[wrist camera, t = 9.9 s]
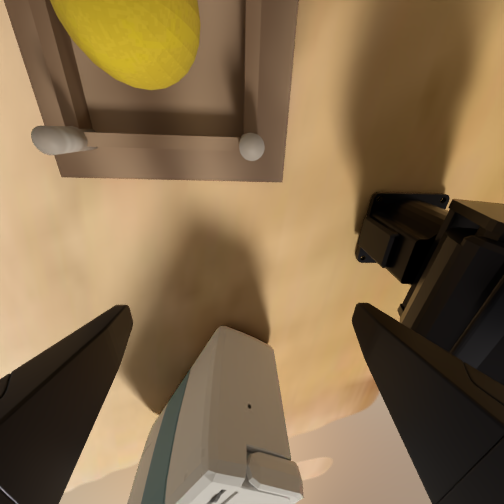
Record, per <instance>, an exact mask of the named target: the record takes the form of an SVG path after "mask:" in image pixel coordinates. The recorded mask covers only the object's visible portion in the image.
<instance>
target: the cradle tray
mask: <svg viewBox="0 0 504 504" xmlns="http://www.w3.org/2000/svg"><path fill="white" fill-rule="evenodd" d="M197 1H198V8H199V16H200V25H201V26H200V41H199V47H198V51H197V54H196V58H195V61H194V63H193V64H192V66H191V68H190V70H189V71H188V73H187V74H186V75H185V76H184V77H183V78H182V79H181V80H180V81H179V82H177V83H175V84H173V85H171V86H169V87H167V88H164V89H157V90H146V89H140V88H135V87H132V86H130V85H127V84H125V83H123V82H120V81H118V80H116V79H114V78H113V77H111V76H110V75H109V74H107V73H106V72H105V71H103V70H102V69H101V68H99V67H98V66H96V65H95V64H94V63H93V62H92V61H91V60H90V59H89V58H88V57H87V55H86V54H85V53H84V52H83V51H82V50H81V49H80V48H79V47H78V46H77V45H76V44H75V42H74V41H73V40H72V38H71V37H70V36H69V34H68V32H67V31H66V29H65V28H64V26H63V25H62V23H61V22H60V20H59V19H58V17H57V15H56V13H55V11H54V8H53V6H52V4H51V2H50V0H4V3H5V6H6V9H7V12H8V15H9V18H10V21H11V24H12V27H13V30H14V33H15V36H16V39H17V42H18V45H19V48H20V51H21V55H22V58H23V61H24V64H25V67H26V70H27V73H28V76H29V79H30V82H31V85H32V88H33V91H34V94H35V97H36V100H37V103H38V107H39V110H40V113H41V116H42V119H43V122H44V125H45V126H37V127H35V128H34V129H33V130H32V133H31V138H32V141H33V143H34V145H35V146H36V148H37V149H38V150H40V151H41V152H42V153H44V154H47V155H55V159H56V162H57V165H58V168H59V171H60V174H61V177H76V178H119V179H162V180H205V181H248V182H282V180H283V169H284V157H285V146H286V135H287V124H288V113H289V102H290V90H291V79H292V68H293V57H294V46H295V34H296V23H297V12H298V1H299V0H197Z"/></svg>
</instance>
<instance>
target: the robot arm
mask: <svg viewBox="0 0 504 504" xmlns="http://www.w3.org/2000/svg"><path fill="white" fill-rule="evenodd" d="M379 196H380V199H379V200H378V201H377V198H378V197H379ZM442 198H443V199H442ZM441 199H442V201H440V200H441ZM448 202H449V196H448V195H446V194H443V193H404V192H376V193H374V194H373V195H372V198H371V201H370V205H369V208H368V212H367V216H366V217H365V219H364V222H363V226H362V230H361V233H360V237H359V241H358V244H359V246H358V250H357V253H356V259H357V260H358V261H359V262H361V263H378V264H379V265H380V266H381V267H382V268H386V269H387V270H388V271H389V272H390V273H391V274H392V275H393V276H395V277H396V278H397V279H398V280H399V281H400V282H401V283H402V284H409V285H411V288H410V290H409V292H408V294H407V296H406V298H405V299H404V301H403V303H402V304H400V306H399V308H398V313H399V316H400V322H398V321H397V320H395V319H393V318H392V317H390V316H389V315H387V314H385V313H384V312H382V311H380V310H379V309H377V308H375V307H374V306H372V305H371V304H369V303H358V304H357V305H356V307H355V310H354V314H353V317H352V324H353V327H354V330H355V333H356V336H357V339H358V341H359V344H360V347H361V350H362V353H363V356H364V358H365V361H366V363H367V365H368V367H369V370H370V372H371V374H372V376H373V378H374V380H375V382H376V385H377V387H378V389H379V391H380V393H381V395H382V397H383V400H384V402H385V404H386V406H387V408H388V410H389V412H390V415H391V417H392V419H393V421H394V423H395V425H396V427H397V429H398V432H399V434H400V436H401V438H402V440H403V442H404V444H405V447H406V449H407V451H408V453H409V455H410V457H411V459H412V462H413V464H414V466H415V468H416V470H417V472H418V475H419V477H420V479H421V481H422V483H423V485H424V487H425V490H426V492H427V494H428V496H429V498H430V500H431V502H432V504H504V204H499V203H489V202H479V201H469V200H459V199H452V201H451V203H450V205H449V208H450V210H449V211H447V210H445V209H446V206H447V204H448ZM361 256H363V257H362V258H361ZM132 327H133V320H132V316H131V312H130V308H129V306H128V305H115V306H114V307H112V308H111V309H109V310H107V311H106V312H104V313H103V314H101V315H100V316H98V317H97V318H95V319H93V320H92V321H90V322H89V323H87V324H86V325H84V326H83V327H81V328H79V329H78V330H76V331H75V332H73V333H72V334H70V335H68V336H67V337H65V338H64V339H62V340H61V341H59V342H58V343H56V344H54V345H53V346H51V347H50V348H48V349H47V350H45V351H43V352H42V353H40V354H39V355H37V356H36V357H34V358H33V359H31V360H29V361H28V362H26V363H25V364H23V365H22V366H20V367H18V368H17V369H15V370H14V371H12V373H11V374H7V375H6V376H4V377H3V378H1V379H0V504H59V502H60V500H61V497H62V495H63V493H64V491H65V488H66V486H67V484H68V482H69V479H70V477H71V475H72V473H73V470H74V468H75V466H76V464H77V461H78V459H79V457H80V455H81V452H82V450H83V448H84V446H85V443H86V441H87V439H88V437H89V434H90V432H91V430H92V428H93V425H94V423H95V421H96V419H97V416H98V414H99V412H100V410H101V407H102V405H103V403H104V401H105V398H106V396H107V394H108V392H109V389H110V387H111V385H112V383H113V380H114V378H115V376H116V374H117V371H118V369H119V366H120V364H121V361H122V358H123V355H124V352H125V349H126V346H127V342H128V339H129V336H130V333H131V330H132Z"/></svg>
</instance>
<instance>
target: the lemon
mask: <svg viewBox="0 0 504 504" xmlns="http://www.w3.org/2000/svg"><path fill="white" fill-rule="evenodd" d="M50 2H51V4H52V6H53V8H54V11H55V13H56V15H57V17H58V19H59V20H60V22H61V23H62V25H63V26H64V28H65V29H66V31H67V32H68V34H69V36H70V37H71V38H72V40H73V41H74V42H75V44H76V45H77V46H78V47H79V48H80V49H81V50H82V51H83V52H84V53H85V54H86V55H87V57H88V58H89V59H90V60H91V61H92V62H93V63H94V64H95V65H96V66H98V67H99V68H101V69H102V70H103V71H105V72H106V73H107V74H109V75H110V76H111V77H113V78H114V79H116V80H118V81H120V82H123V83H125V84H127V85H130V86H132V87H135V88H140V89H146V90H157V89H164V88H167V87H169V86H171V85H173V84H175V83H177V82H179V81H180V80H181V79H182V78H183V77H184V76H185V75H186V74H187V73H188V71H189V70H190V68H191V66H192V64H193V63H194V61H195V58H196V54H197V51H198V47H199V41H200V26H201V25H200V16H199V8H198V1H197V0H50Z"/></svg>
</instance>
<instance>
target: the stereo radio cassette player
mask: <svg viewBox="0 0 504 504" xmlns="http://www.w3.org/2000/svg"><path fill="white" fill-rule="evenodd" d="M302 498H303V484H302V479H301V475H300V472H299V468H298V466H297V465H296V463H295V462H293V461H291V455H290V449H289V443H288V436H287V430H286V424H285V418H284V412H283V405H282V399H281V393H280V387H279V380H278V374H277V368H276V362H275V356H274V350H273V348H272V347H271V346H270V345H268V344H266V343H264V342H262V341H260V340H258V339H256V338H254V337H252V336H250V335H247V334H245V333H243V332H240V331H237V330H235V329H232V328H230V327H227V326H220V327H218V328H217V330H216V331H215V333H214V334H213V336H212V337H211V339H210V340H209V342H208V343H207V345H206V346H205V348H204V349H203V351H202V352H201V354H200V355H199V357H198V358H197V360H196V361H195V363H194V364H193V366H192V367H191V369H190V370H189V372H188V373H187V375H186V376H185V378H184V379H183V381H182V382H181V384H180V385H179V387H178V388H177V390H176V391H175V393H174V394H173V396H172V397H171V399H170V400H169V402H168V403H167V405H166V406H165V408H164V409H163V411H162V412H161V414H160V415H159V417H158V418H157V420H156V421H155V423H154V424H153V426H152V428H151V430H150V433H149V435H148V438H147V441H146V444H145V447H144V450H143V453H142V456H141V459H140V462H139V466H138V469H137V472H136V476H135V479H134V482H133V486H132V489H131V493H130V496H129V500H128V504H295V503H297V502H298V501H300V500H301V499H302Z"/></svg>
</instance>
